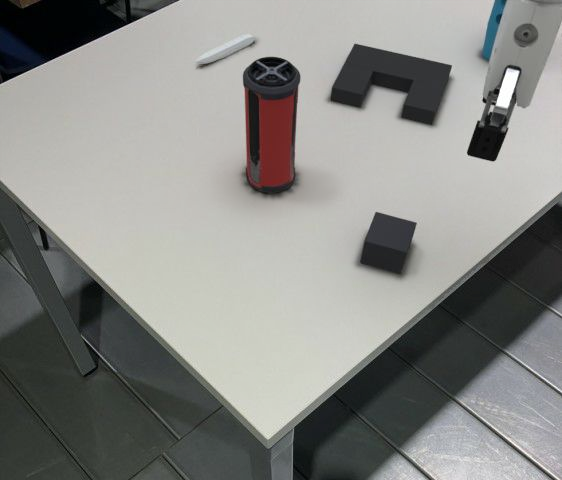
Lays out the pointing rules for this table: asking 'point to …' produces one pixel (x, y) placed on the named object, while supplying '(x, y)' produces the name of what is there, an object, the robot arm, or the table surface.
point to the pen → (226, 49)
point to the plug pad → (388, 242)
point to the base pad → (392, 80)
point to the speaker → (271, 123)
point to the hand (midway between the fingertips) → (488, 129)
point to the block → (493, 27)
